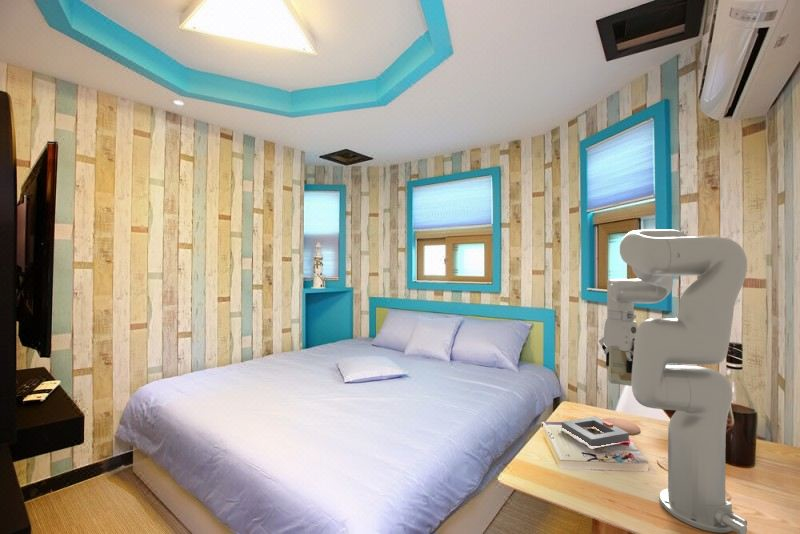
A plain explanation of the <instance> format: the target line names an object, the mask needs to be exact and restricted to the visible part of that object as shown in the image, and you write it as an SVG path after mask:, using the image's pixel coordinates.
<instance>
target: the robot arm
mask: <svg viewBox="0 0 800 534" xmlns="http://www.w3.org/2000/svg"><path fill="white" fill-rule="evenodd" d="M619 255H620V256H621V259H622V261H623V262H624V263H626V264H627V265H628V266H630V267H631V270H632V274H634V276H636V277H637V278H629V279H628V278H613V279H608V281H607V284H606V290H607V291H606V292H607V293H606V296H607V297H606V300H607V301H606V311H607V313H606V319H605V322H604V328H603V337H602V338H600V339H598V343H599V344H600V346H601V348H602V350H603V353H604V355H605V366H606V367H609V349H610V346H613V347H617V348H618V349H619V350H620V351H623V352H625V353H626V356H627V358H628V360H627V361H626V372H627V373H632V378H631V384H632V386H631V391H632V395H633V397H634V399H635V400H636V401H637V402H638V403H639V405H641V406H643V407H645V408H650V409H656V410H666V411H667V410H668V411H675V412H674V413H673V414H672V416H671V417H670V419H669V423H668V427H667V428H668V429H667V488H665V489H663V490H661V491H660V493H659V502H660V504H661V506H662V507H663V509H664V510H666V511H667V512H668V513H669V514H671V515H672V516H673V517H674V518H677V519H678V520H680V521H681V522H684V523H685V524H687V525H689V526H692V527H694V528H698V529H699V530H700V529H701V530H703V531H705V532H711V533H712V532H713V533H717V534H718V533H719V534H723V533H730V532H733V531H734V532H735V533H737V534H747V533H748V528H747V525H748V520H746V519H745V518H743V517H742V516H739V515H737V514H735V513H734V511H732V510H733V507H732V506H733V503H732V502H731V501H728V500H726V449H727V448H726V445H727V444H726V439H727V438H726V436H727V435H726V434H727V422H728V417H729V413H730V409H731V406H732V402H733V389H732V384H731V383H730V382H729V380H728V379H727V377H726V376H724V375H723V374H722V373H721V372H719V371H717V370H715V369H713V368H709V367H705V365H707V366H709V365H710V366H711V365H718V364H720V363H723V361H725V360H726V357H727V355H728V351H729V346H730V341H731V334H732V328H733V320H734V311H735V310H734V309H735V305H736V302H737V299H738V296H739V294H740V291H741V289H742V287H743V285H744V282H745V280H746V278H747V277H746V276H747V272H748V259H747V258H748V257H747V255H746V252H745V250H744V249H743V247H742V246H741V245H740V244H739V243H738V242H737V241H734V240H733V239H730V238H726V237H721V236H720V237H719V236H705V235H704V236H701V235H700V236H689V235H687V234H686V233H684V231H683V232H682V231H680V230H678V229H677V230H676V229H637V230H631V231H629V232H628V233H626V234H625V235H624V236H623V238H622V239H621V241H620V244H619ZM673 276H681V277H682V276H698V277H699V278H697V279H696V280H695V281H693V282H692V283H691V284H690V285H689V286H688V287H687V288H686V289H685V290H684V291H683V292H682V295H681V296H680V299H679V307H678V314H677V315H676V317H673V318H670V317H669V318H667V317H666V318H665V317H655V318H648V319H645V320H643V321H642V322H641V323H639V325H638V324H637V321H636V320H634V319H636V318H637V315H636V314H635V312H634V310H635V304H657V303H660V302H662V301H663V300H665V299H666V298H667V297H668V296H669V295H670V294H671V292H672V290H673V285H674V279H673ZM631 349H632V350H631ZM630 353H632V356H631V354H630ZM680 364H682V365H680ZM699 365H700V366H699ZM701 365H702V366H701ZM703 365H704V366H703Z"/></svg>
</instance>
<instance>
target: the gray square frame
mask: <svg viewBox="0 0 800 534" xmlns="http://www.w3.org/2000/svg"><path fill="white" fill-rule="evenodd" d="M593 426H594V427H596V428H597V429H599V430H600V431H602V432H604V433H597V434H594V433H592V432H590V431H589V430H585V429H583V428H581V427H593ZM562 428H564V429H566V430H567V431H569V432H571V433H572V434H574V435H576V436H578V437H579V438H581V439H582V440H584V441H585V442H587V443H588V444H589V445H591V446H601V445H606V444H611V443H618V442H622V441H629V442H630V440H629V438H630V437H629V436H630V435H629V433H628V432H626V431H624V430H622V429H620V428H618V427H616V426H614V425H613V424H611V423H609V422H607V421H604V420H603V418H600V417H598V416H591V417H585V418H578V419H571V420H564V421H561V429H562Z"/></svg>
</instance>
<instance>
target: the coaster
mask: <svg viewBox="0 0 800 534" xmlns="http://www.w3.org/2000/svg"><path fill="white" fill-rule="evenodd" d="M602 420H604V421H607V422H609V423H611V424H613V425H614V426H616V427H618V428H620V429H622V430H624V431H626V432H628V433H629V436H630V435H632V436H633V435H638V434H640V433H641V427H640V426H639V425H637V424H636V423H633V422H631V421H629V420H626V419H621V418H618V417H617V418H616V417H606V418H602Z"/></svg>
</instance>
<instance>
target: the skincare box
mask: <svg viewBox="0 0 800 534" xmlns="http://www.w3.org/2000/svg"><path fill="white" fill-rule="evenodd" d="M631 350H632V349H631ZM630 354H631V356H632V353H630ZM627 360H628V358H627V356H626V353H625V352H623V351H620V350H619V349H618V348H617V347H613V346H610V349H609V366H608V382H609V383H610V384H612V385H613V384H614V385H621V386H628V387H629V386H630V387H632V384H631V378H632V373H627V372H626V361H627Z"/></svg>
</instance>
